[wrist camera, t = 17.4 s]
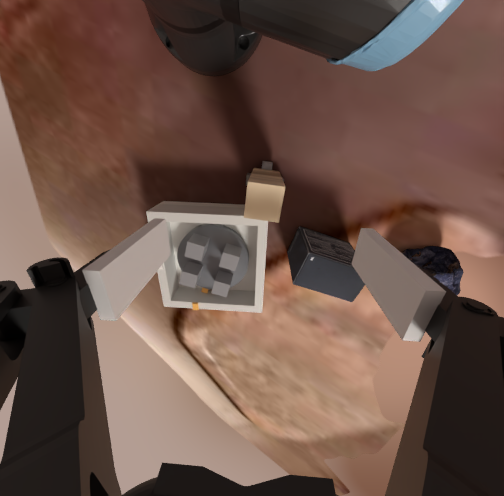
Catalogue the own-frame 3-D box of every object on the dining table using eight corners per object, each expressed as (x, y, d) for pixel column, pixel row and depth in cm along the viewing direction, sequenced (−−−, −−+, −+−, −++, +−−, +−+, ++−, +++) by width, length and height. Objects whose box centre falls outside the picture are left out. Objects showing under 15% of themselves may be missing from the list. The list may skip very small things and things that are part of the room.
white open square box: (163, 200, 40) (144, 212, 34) (268, 205, 39) (268, 218, 33) (176, 286, 49) (163, 307, 42) (262, 291, 48) (262, 314, 42)
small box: (285, 254, 44) (290, 285, 34) (298, 224, 41) (308, 250, 31) (334, 270, 45) (352, 305, 35) (350, 242, 42) (375, 272, 32)
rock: (459, 238, 37) (481, 292, 32) (431, 268, 46) (445, 316, 40) (387, 236, 40) (396, 286, 35) (373, 265, 48) (379, 309, 43)
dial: (175, 278, 45) (164, 295, 40) (187, 213, 39) (175, 224, 34) (236, 295, 46) (233, 314, 41) (258, 236, 40) (256, 249, 35)
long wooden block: (249, 158, 36) (239, 170, 23) (285, 163, 36) (296, 178, 23) (245, 195, 39) (234, 224, 25) (279, 199, 39) (285, 232, 25)
